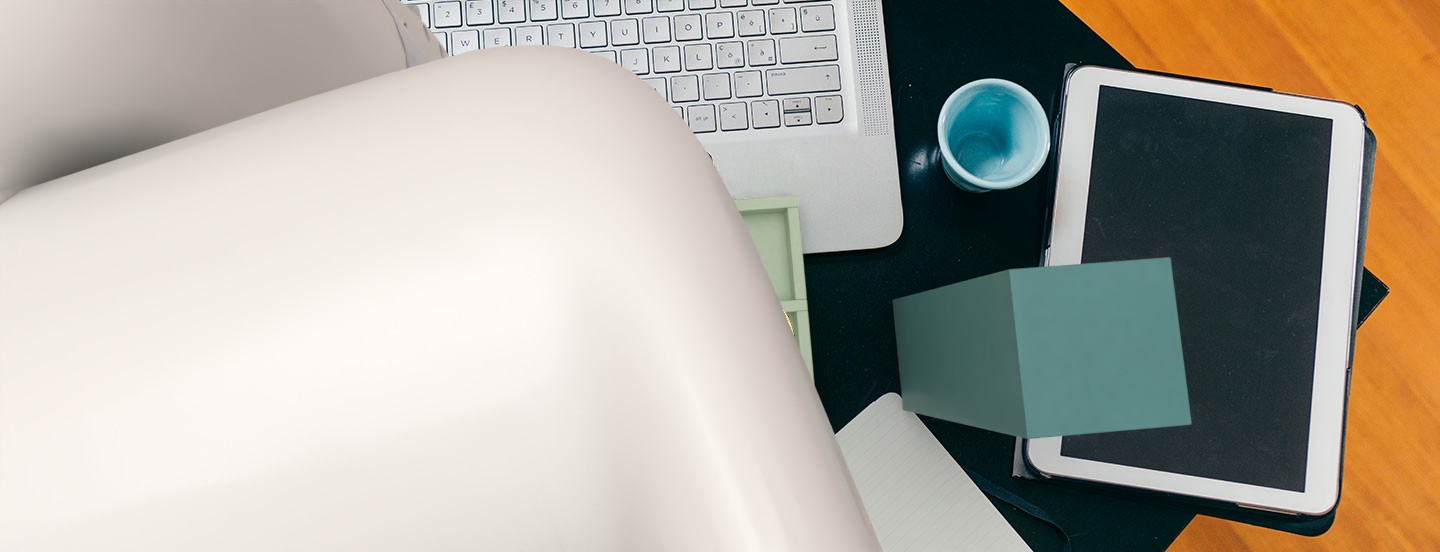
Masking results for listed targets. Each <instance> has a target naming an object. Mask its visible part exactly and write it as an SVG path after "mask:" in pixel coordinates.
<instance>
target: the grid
mask: <svg viewBox="0 0 1440 552" xmlns="http://www.w3.org/2000/svg"><path fill="white" fill-rule="evenodd" d="M733 201H734V203H735V205H736V207H737V208H738V210H739V212H740V214H741V216H742V218H743V220H744V222H745V223H746V225H747V227H748V229H749V232H750V234H751V236H752V239H753V241H754V243H755V246H756V248H757V250H758V253H759V255H760V257H761V260H762V262H763V264H764V267H765V269H766V271H767V274H768V276H769V278H770V281H771V283H772V285H773V287H774V290H775V292H776V294H777V297H778V299H779V301H780V304H781V306H782V308H783V310H784V311H785V312H786V313H787V315H788V316H789V319H790V321H791V324H792V327H793V330H794V334H795V340H796V342H797V344H798V347H799V349H800V352H801V354H802V357H803V359H804V361H805V364H806V366H807V369H808V371H809V374H810V376H811V378H812V381H813V383H814V386H815V375H814V364H813V353H812V341H811V331H810V318H809V311H808V310H809V307H808V300H807V298H808V297H807V285H806V274H805V263H804V252H803V241H802V231H801V230H802V229H801V228H802V227H801V219H800V208H799V196H798V195H788V196H775V197H760V198H746V199H733ZM815 387H816V386H815Z"/></svg>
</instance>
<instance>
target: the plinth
mask: <svg viewBox="0 0 1440 552" xmlns="http://www.w3.org/2000/svg"><path fill="white" fill-rule="evenodd" d="M1172 266H1173V265H1172V259H1171V257H1169V256H1168V257H1154V258H1153V257H1152V258H1142V259H1129V260H1127V259H1126V260H1117V261H1115V260H1114V261H1102V262H1101V261H1100V262H1089V263H1077V264H1075V263H1073V264H1061V265H1049V266H1036V267H1034V266H1033V267H1024V268H1023V267H1021V268H1010V269H1005V270H1002V271H998V272H994V273H991V274H987V275H983V276H979V277H975V278H971V279H967V280H964V281H959V282H956V283H952V284H948V285H944V286H941V287H937V288H933V289H930V290H925V291H921V292H917V293H914V294H910V295H907V296H901V297H899V298H895V299H892V311H893V321H894V331H895V340H896V351H897V361H898V362H897V363H898V372H899V383H900V391H901V401H902V402H901V403H902V410H903V411H905V412H910V413H914V414H919V415H922V416H927V417H931V418H936V419H939V420H944V421H948V422H953V423H957V424H960V425H961V424H962V425H965V426H966V425H967V426H969V427H970V426H971V427H974V428H979V429H984V430H988V431H992V432H996V433H1001V434H1006V435H1008V436H1014V437H1018V438H1022V439H1025V440H1026V439H1027V440H1031V439H1043V438H1044V439H1045V438H1055V437H1067V436H1079V435H1089V434H1101V433H1113V432H1123V431H1133V430H1146V429H1147V430H1148V429H1156V428H1168V427H1178V426H1180V427H1181V426H1191V425H1192V423H1193V422H1192V416H1191V415H1192V414H1191V407H1190V400H1189V393H1188V392H1189V391H1188V384H1187V377H1186V376H1187V375H1186V368H1185V362H1184V353H1183V346H1182V338H1181V330H1180V321H1179V314H1178V306H1177V305H1178V304H1177V298H1176V290H1175V289H1176V288H1175V283H1174V282H1175V281H1174V275H1173V267H1172Z"/></svg>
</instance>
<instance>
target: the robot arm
mask: <svg viewBox="0 0 1440 552" xmlns="http://www.w3.org/2000/svg"><path fill="white" fill-rule="evenodd" d="M733 200H734V199H733V197H732V196H731V193H730V192H729V190H728V188H727V186H726V184H725V182H724V180H723V179H722V176H721V175H720V173H719V171H718V169H717V167H716V165H715V164H714V161H713V160H712V158H711V156H710V154H709V153H708V151H707V150H706V148H705V147H704V145H703V144H702V143H701V141H700V140H699V139H698V137H697V135H696V134H695V133H694V132H693V130H692V129H691V127H690V126H689V124H688V123H687V122H686V121H685V120H684V118H683V117H682V116H681V115H680V114H679V113H678V111H676V109H675V108H673V106H671V104H670V103H669V102H668V101H667V100H666V99H665V98H664V96H663V95H661V94H660V92H659V91H658V90H656V89H655V88H653V87H652V86H651V85H650V84H648V83H647V82H646V81H645V80H644V79H642V78H641V77H640V76H638V75H637V74H636V73H635V72H633V71H632V70H630V69H628V68H626V67H624V66H622V65H620V64H618V63H617V62H615V61H613V60H611V59H609V58H607V57H606V56H603V55H599V54H596V53H592V52H590V51H586V50H583V49H579V48H575V47H568V46H560V45H559V46H558V45H551V44H526V45H506V46H494V47H486V48H478V49H472V50H469V51H465V52H462V53H458V54H453V55H451V56H450V54H448V52H447V50H446V49H445V47H444V45H443V44H442V43H441V41H440V40H439V38H438V37H436V35H435V34H434V33H433V31H432V30H431V29H430V27H428V25H426V24H425V22H424V21H423V20H422V16H421V11H420V8H419V6H418V5H417V4H411V5H410V4H409V5H407V4H405V3H403V2H402V1H401V0H0V552H884V551H883V548H882V546H881V543H880V541H879V539H878V536H877V534H876V531H875V529H874V527H873V524H872V522H871V519H870V516H869V514H868V512H867V509H866V507H865V504H864V502H863V500H862V498H861V495H860V493H859V490H858V488H857V486H856V483H855V481H854V478H853V476H852V473H851V471H850V468H849V466H848V463H847V461H846V459H845V456H844V454H843V451H842V448H841V447H840V444H839V442H838V439H837V437H836V434H835V432H834V430H833V427H832V424H831V423H830V420H829V417H828V414H827V412H826V410H825V407H824V405H823V403H822V400H821V398H820V395H819V393H818V391H817V388H816V386H814V385H815V382H814V383H813V381H812V378H811V376H810V374H809V371H808V369H807V366H806V364H805V361H804V359H803V357H802V354H801V352H800V349H799V347H798V344H797V342H796V340H795V337H794V335H793V332H792V330H791V327H790V325H789V323H788V320H787V318H786V315H785V313H784V311H783V308H782V306H781V304H780V301H779V299H778V297H777V294H776V292H775V290H774V287H773V285H772V283H771V281H770V278H769V276H768V274H767V271H766V269H765V267H764V264H763V262H762V260H761V257H760V255H759V253H758V250H757V248H756V246H755V243H754V241H753V239H752V236H751V234H750V232H749V229H748V227H747V225H746V223H745V222H744V220H743V218H742V216H741V214H740V212H739V210H738V208H737V207H736V205H735V203H734V201H733Z"/></svg>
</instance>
